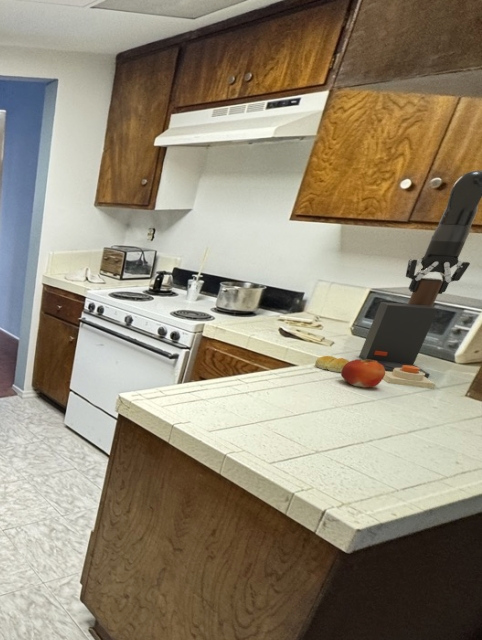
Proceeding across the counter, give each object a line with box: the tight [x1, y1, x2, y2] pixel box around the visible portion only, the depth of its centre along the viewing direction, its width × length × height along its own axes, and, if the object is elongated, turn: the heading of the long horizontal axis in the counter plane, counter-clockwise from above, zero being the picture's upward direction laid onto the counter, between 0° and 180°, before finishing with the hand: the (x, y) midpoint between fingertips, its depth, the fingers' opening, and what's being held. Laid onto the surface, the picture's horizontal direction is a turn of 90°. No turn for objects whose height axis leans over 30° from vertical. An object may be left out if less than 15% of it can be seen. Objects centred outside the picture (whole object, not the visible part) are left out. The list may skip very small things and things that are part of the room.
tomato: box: [340, 358, 385, 389], centre depth 138 cm, size 9×9×8 cm
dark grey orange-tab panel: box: [358, 301, 439, 379], centre depth 151 cm, size 17×12×20 cm
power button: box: [401, 365, 421, 374], centre depth 141 cm, size 4×4×2 cm
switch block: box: [382, 368, 436, 390], centre depth 142 cm, size 10×8×4 cm
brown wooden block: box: [407, 277, 443, 307], centre depth 157 cm, size 8×6×12 cm
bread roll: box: [314, 355, 350, 373], centre depth 153 cm, size 8×9×4 cm
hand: (425, 292), depth 156 cm, fingers closed on brown wooden block, 6 cm apart
